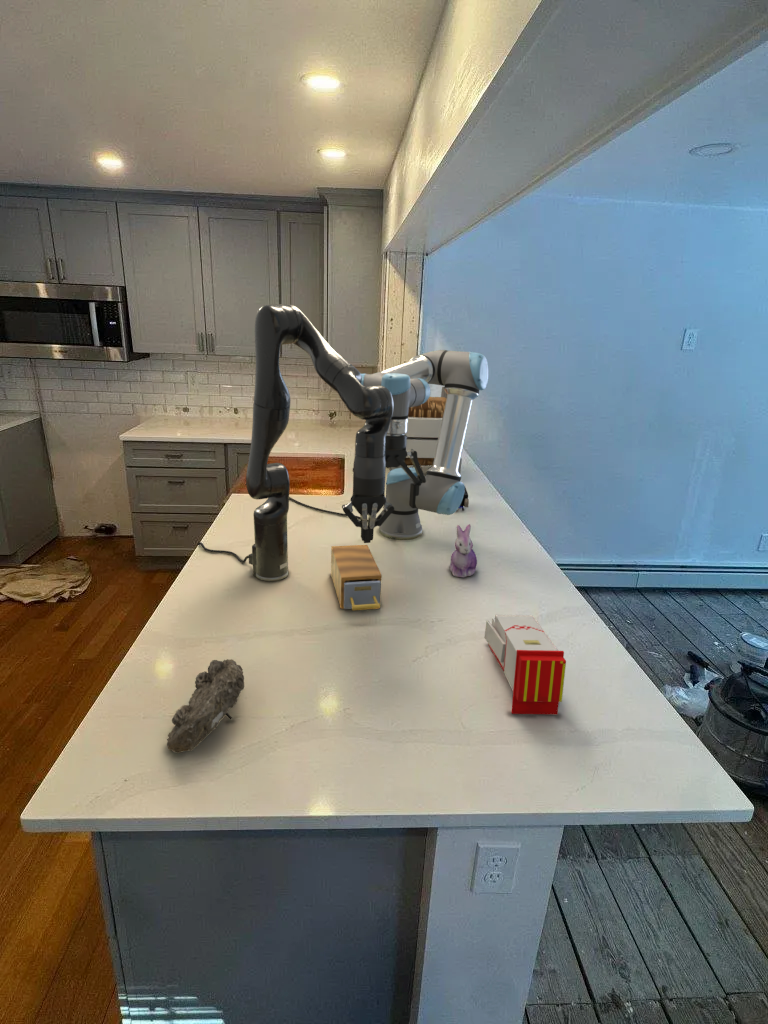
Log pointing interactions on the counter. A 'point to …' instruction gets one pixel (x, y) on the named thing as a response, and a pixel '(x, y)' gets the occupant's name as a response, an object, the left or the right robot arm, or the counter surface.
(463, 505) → the figurine character
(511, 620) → the toy
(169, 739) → the fossil
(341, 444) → the counter surface
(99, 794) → the counter surface
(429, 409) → the white slatted crate
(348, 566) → the cabinet
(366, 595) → the drawer
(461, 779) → the counter surface
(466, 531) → the figurine
